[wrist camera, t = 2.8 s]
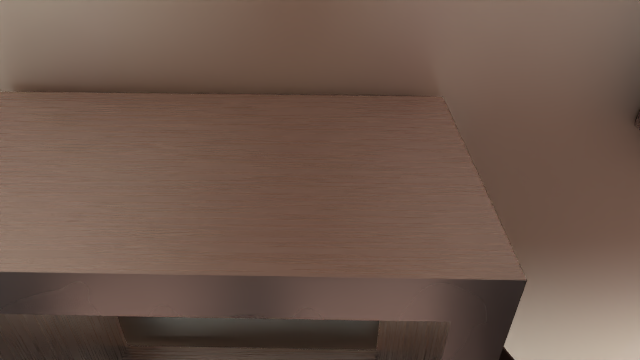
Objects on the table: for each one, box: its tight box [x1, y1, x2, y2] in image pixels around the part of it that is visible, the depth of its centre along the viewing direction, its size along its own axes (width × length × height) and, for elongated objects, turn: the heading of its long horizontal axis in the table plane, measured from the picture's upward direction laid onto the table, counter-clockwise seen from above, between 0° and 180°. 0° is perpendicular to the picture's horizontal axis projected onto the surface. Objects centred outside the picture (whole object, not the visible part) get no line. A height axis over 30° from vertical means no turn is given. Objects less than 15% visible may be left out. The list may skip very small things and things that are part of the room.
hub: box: [0, 92, 527, 360], centre depth 8 cm, size 7×7×4 cm
